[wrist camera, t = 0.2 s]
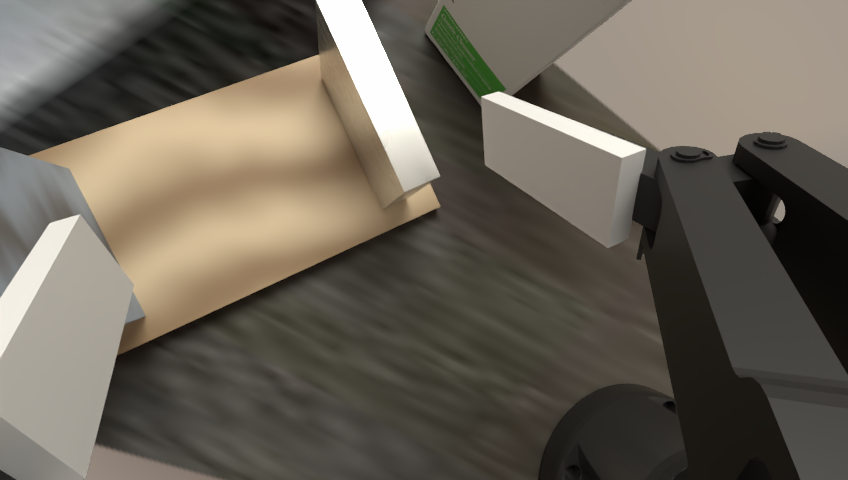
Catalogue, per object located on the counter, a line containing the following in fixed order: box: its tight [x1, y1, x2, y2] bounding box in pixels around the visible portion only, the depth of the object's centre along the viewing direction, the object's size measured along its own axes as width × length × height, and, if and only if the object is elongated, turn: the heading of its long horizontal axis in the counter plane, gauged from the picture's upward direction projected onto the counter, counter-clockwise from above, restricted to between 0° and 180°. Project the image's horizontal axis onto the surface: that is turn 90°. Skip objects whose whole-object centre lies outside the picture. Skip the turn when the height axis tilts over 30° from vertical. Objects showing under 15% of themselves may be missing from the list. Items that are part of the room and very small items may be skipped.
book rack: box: [0, 55, 440, 356], centre depth 20 cm, size 13×25×15 cm, turn 115°
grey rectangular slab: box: [315, 0, 440, 210], centre depth 24 cm, size 10×2×9 cm, turn 25°
